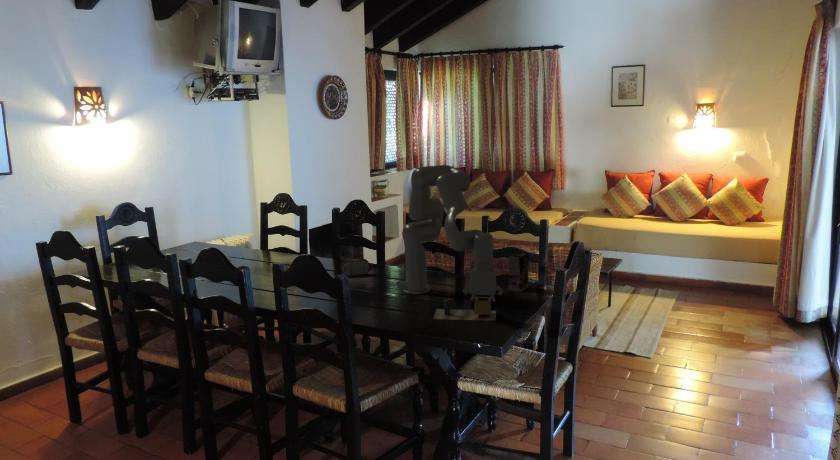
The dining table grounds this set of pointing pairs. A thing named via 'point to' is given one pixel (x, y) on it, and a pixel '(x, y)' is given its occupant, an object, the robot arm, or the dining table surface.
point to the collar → (482, 305)
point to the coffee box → (518, 272)
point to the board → (461, 314)
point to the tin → (355, 267)
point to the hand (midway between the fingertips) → (482, 309)
